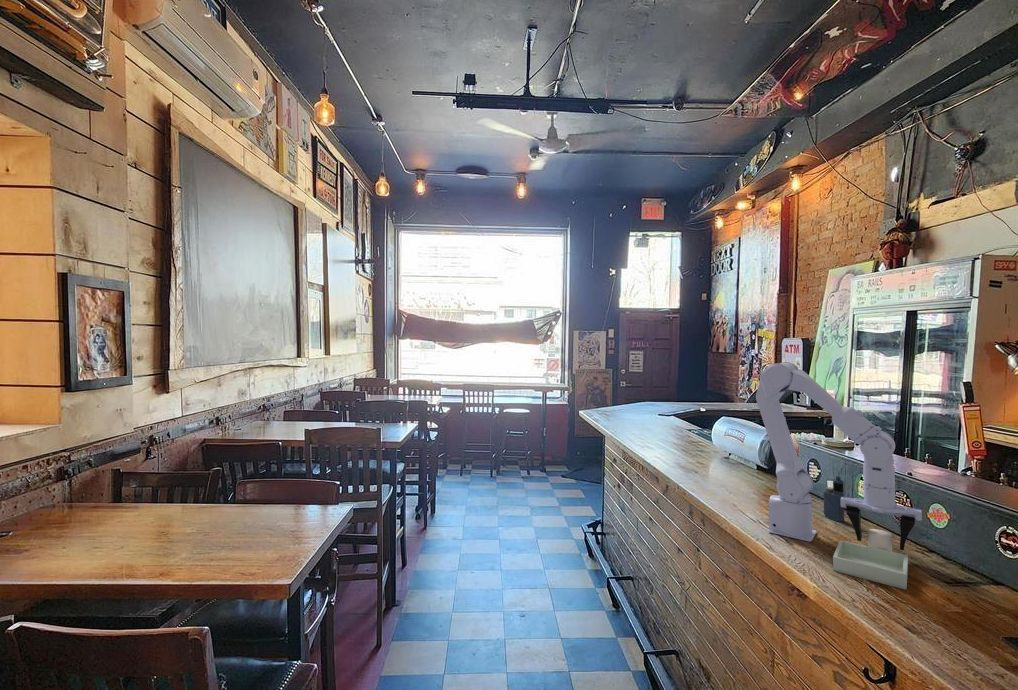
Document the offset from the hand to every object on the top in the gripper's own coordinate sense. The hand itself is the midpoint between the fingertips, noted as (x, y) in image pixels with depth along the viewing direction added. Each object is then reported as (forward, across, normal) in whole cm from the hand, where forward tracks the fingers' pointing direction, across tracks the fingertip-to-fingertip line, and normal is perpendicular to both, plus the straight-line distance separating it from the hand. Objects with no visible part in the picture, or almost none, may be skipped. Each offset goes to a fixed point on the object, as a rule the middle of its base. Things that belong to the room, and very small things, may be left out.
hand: (880, 543), depth 106 cm
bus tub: (+2, -1, -10) cm, 11 cm away
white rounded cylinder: (+2, 0, 0) cm, 3 cm away
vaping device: (+3, -11, +19) cm, 22 cm away
